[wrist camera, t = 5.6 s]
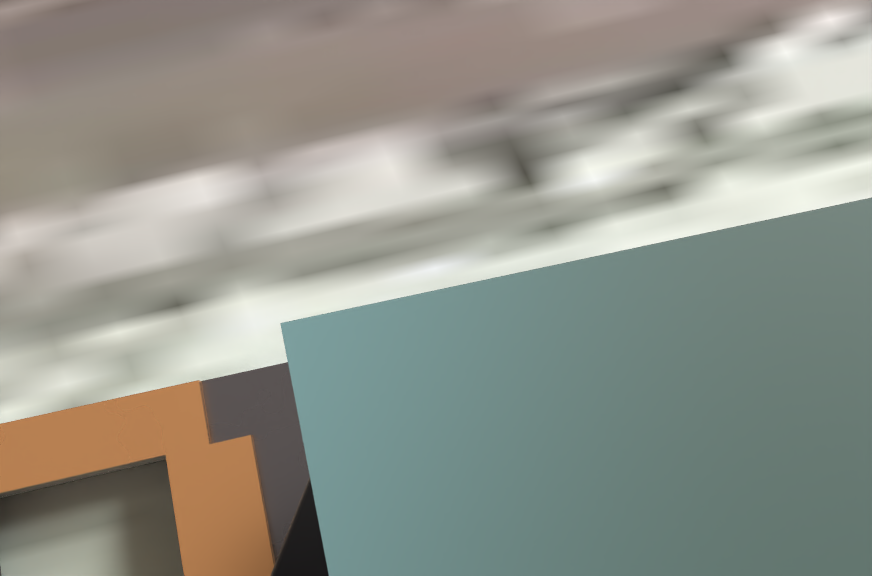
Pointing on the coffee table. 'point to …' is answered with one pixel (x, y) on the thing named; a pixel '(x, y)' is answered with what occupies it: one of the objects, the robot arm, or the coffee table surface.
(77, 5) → the coffee table surface
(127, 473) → the coffee table surface
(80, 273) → the coffee table surface
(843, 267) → the peg
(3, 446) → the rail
